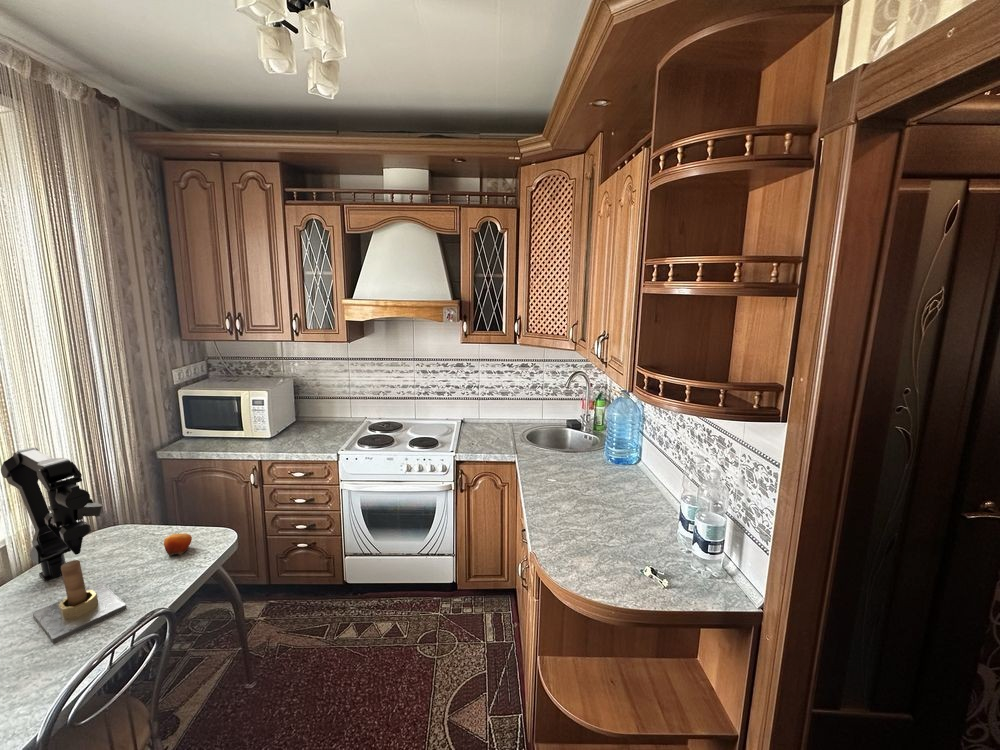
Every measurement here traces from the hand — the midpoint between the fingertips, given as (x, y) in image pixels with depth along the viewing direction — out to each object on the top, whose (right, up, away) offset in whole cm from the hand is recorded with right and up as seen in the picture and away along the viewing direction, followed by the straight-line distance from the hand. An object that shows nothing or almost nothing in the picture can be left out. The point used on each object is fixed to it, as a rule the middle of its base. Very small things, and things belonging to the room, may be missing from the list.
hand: (72, 549), depth 145 cm
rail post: (+10, -14, -9) cm, 19 cm away
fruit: (+18, -9, +22) cm, 29 cm away
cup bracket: (+10, -15, -9) cm, 20 cm away
